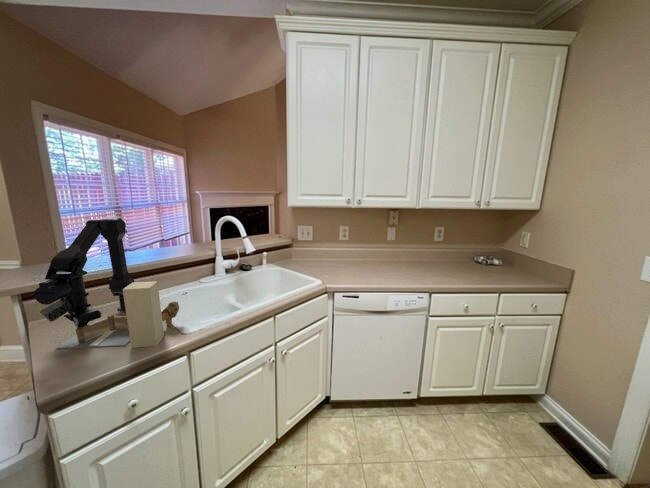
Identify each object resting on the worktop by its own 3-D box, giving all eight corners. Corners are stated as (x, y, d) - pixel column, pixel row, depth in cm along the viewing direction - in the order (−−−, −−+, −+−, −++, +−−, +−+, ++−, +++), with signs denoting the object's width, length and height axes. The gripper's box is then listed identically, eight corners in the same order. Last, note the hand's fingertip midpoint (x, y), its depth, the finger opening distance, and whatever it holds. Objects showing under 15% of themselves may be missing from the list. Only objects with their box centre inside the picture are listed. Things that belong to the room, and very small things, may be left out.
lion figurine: (178, 318, 109) (175, 298, 107) (183, 323, 106) (181, 302, 104) (135, 333, 98) (132, 311, 96) (140, 339, 95) (136, 315, 93)
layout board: (97, 320, 107) (97, 319, 107) (154, 319, 109) (154, 317, 109) (56, 348, 89) (56, 347, 89) (125, 345, 91) (124, 344, 91)
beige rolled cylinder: (77, 341, 92) (74, 329, 90) (107, 329, 99) (105, 317, 98) (79, 343, 91) (77, 330, 90) (110, 330, 98) (107, 319, 97)
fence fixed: (112, 328, 101) (109, 314, 100) (143, 327, 102) (141, 313, 101) (108, 331, 99) (105, 317, 98) (140, 329, 100) (138, 316, 99)
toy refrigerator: (165, 334, 98) (158, 280, 93) (157, 346, 91) (148, 288, 86) (141, 336, 97) (133, 281, 92) (131, 348, 90) (121, 289, 85)
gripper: (29, 293, 88) (39, 335, 91) (52, 307, 79) (63, 353, 83) (73, 282, 97) (81, 321, 101) (98, 294, 88) (105, 336, 92)
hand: (82, 332), depth 94 cm, fingers closed
